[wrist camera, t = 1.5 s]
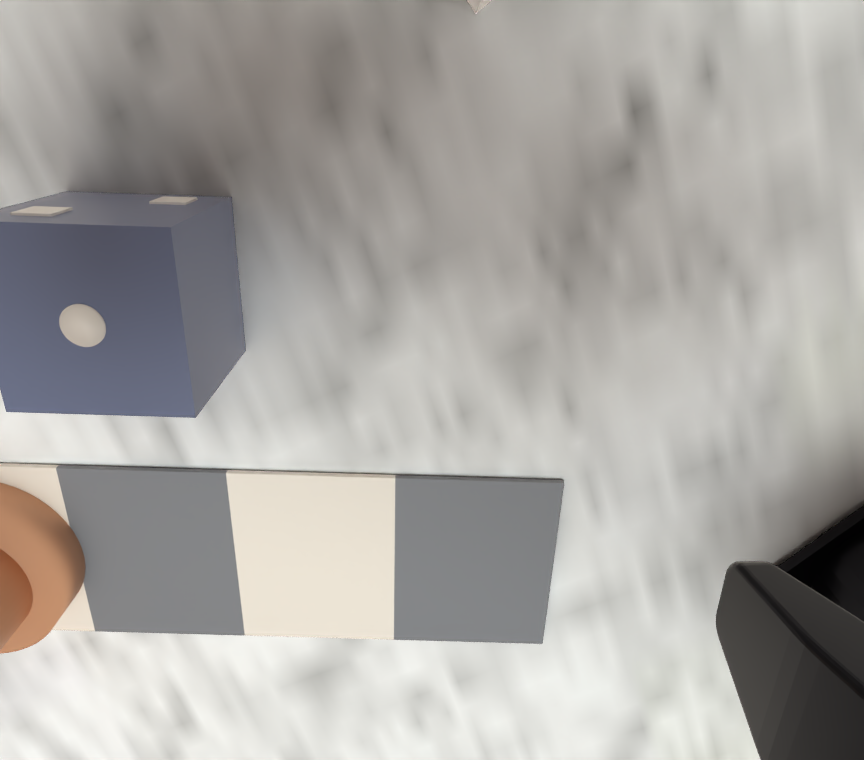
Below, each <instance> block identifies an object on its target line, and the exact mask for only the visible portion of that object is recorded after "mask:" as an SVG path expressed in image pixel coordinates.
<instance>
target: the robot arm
mask: <svg viewBox="0 0 864 760" xmlns="http://www.w3.org/2000/svg"><path fill="white" fill-rule="evenodd" d="M716 628H717V633H718V637H719V640H720V643H721V646H722V649H723V652H724V655H725V658H726V661H727V663H728V666H729V669H730V672H731V675H732V678H733V681H734V684H735V687H736V690H737V693H738V696H739V699H740V702H741V704H742V707H743V710H744V713H745V716H746V719H747V722H748V725H749V728H750V731H751V734H752V737H753V740H754V743H755V745H756V748H757V751H758V754H759V756H760V759H761V760H864V506H862V507H861V508H860V509H858V510H857V511H855V512H854V513H852V514H851V515H850V516H848V517H847V518H845V519H844V520H843V521H841V522H840V523H838V524H837V525H836V526H834V527H833V528H831V529H830V530H829V531H827V532H826V533H824V534H823V535H822V536H820V537H819V538H817V539H816V540H814V541H813V542H812V543H810V544H809V545H807V546H806V547H805V548H803V549H802V550H800V551H799V552H798V553H796V554H795V555H793V556H792V557H791V558H789V559H788V560H786V561H785V562H784V563H782V564H781V565H779V566H778V567H777V566H775V565H773V564H771V563H769V562H765V561H744V562H735V563H732V564H731V565H730V566H729V568H728V569H727V572H726V576H725V580H724V584H723V588H722V592H721V597H720V601H719V605H718V609H717V614H716Z"/></svg>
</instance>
